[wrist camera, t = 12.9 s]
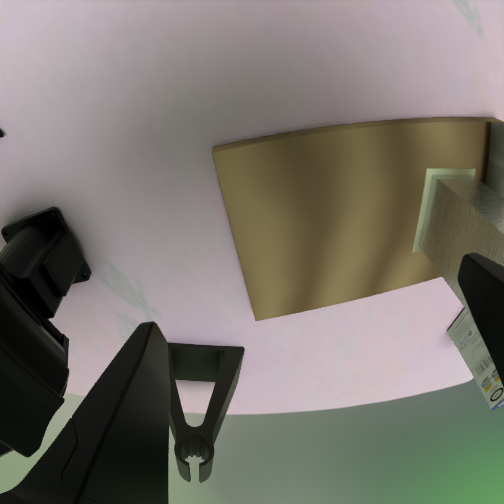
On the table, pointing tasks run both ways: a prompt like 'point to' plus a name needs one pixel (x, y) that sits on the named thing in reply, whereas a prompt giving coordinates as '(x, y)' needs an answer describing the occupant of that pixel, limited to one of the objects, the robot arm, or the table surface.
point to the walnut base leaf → (344, 205)
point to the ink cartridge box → (477, 359)
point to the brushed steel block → (461, 225)
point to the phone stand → (226, 377)
